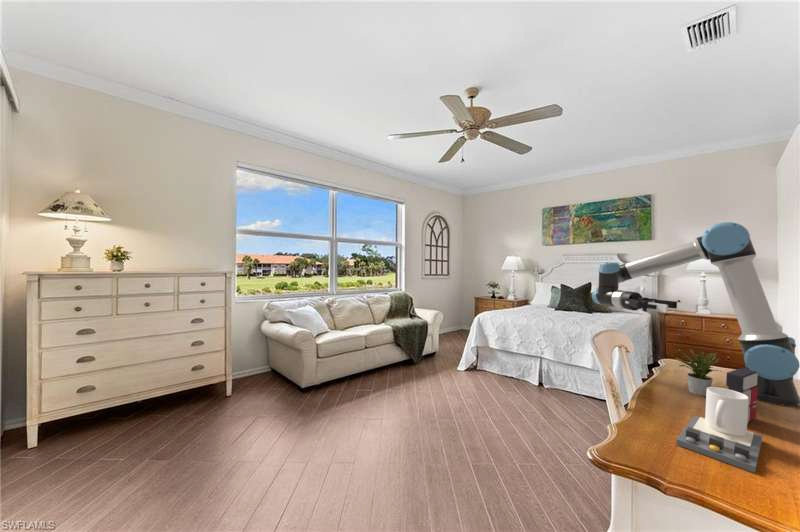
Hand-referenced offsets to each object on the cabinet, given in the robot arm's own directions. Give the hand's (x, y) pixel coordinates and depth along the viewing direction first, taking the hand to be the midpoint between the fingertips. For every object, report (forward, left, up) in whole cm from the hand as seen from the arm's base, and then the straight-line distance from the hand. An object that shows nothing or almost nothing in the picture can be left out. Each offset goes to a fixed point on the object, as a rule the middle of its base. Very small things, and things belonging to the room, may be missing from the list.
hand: (682, 308), depth 114 cm
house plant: (-13, -5, -32) cm, 35 cm away
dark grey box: (-5, +16, -32) cm, 36 cm away
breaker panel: (+15, +28, -32) cm, 45 cm away
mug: (+11, +25, -31) cm, 41 cm away
